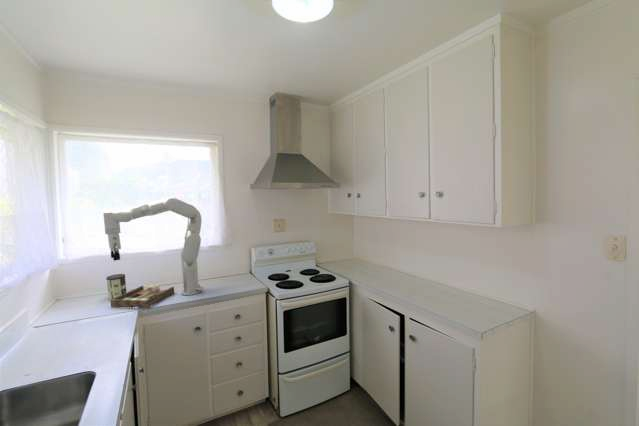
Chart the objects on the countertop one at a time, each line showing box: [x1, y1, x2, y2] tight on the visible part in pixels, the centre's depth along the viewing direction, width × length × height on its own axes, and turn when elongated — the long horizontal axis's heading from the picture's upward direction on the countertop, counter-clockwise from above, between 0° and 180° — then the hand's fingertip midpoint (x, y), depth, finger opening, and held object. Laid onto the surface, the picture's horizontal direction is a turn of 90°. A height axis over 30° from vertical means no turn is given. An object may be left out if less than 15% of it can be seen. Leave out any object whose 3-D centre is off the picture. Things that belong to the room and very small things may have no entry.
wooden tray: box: [109, 285, 175, 309], centre depth 187 cm, size 24×25×4 cm
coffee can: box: [105, 273, 128, 300], centre depth 194 cm, size 10×10×14 cm
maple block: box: [146, 284, 161, 293], centre depth 195 cm, size 5×5×4 cm
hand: (115, 258), depth 177 cm, fingers open, 9 cm apart
